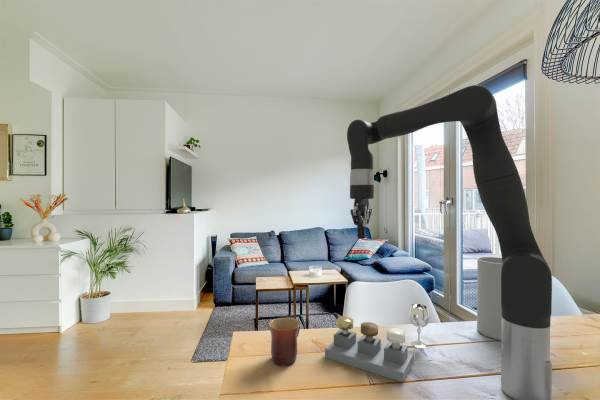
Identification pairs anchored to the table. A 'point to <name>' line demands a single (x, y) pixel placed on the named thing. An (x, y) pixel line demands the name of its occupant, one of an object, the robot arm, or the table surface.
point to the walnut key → (369, 331)
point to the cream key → (396, 337)
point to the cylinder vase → (489, 296)
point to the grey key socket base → (371, 355)
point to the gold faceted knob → (345, 324)
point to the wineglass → (419, 321)
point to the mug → (284, 340)
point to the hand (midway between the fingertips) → (361, 238)
